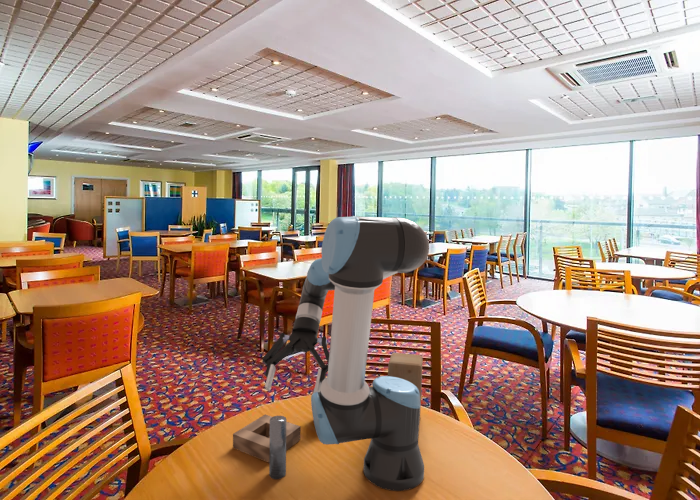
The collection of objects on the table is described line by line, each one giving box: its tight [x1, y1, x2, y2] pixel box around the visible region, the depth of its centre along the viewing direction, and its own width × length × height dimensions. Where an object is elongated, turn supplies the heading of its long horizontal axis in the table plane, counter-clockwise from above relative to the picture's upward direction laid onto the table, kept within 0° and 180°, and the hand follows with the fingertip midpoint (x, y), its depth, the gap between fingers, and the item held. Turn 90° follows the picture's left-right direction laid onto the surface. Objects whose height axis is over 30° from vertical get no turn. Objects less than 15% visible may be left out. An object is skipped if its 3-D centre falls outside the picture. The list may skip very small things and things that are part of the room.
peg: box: [268, 415, 287, 480], centre depth 103 cm, size 4×4×14 cm
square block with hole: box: [232, 414, 301, 463], centre depth 117 cm, size 13×13×4 cm
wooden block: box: [387, 352, 424, 424], centre depth 131 cm, size 10×10×20 cm
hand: (291, 391), depth 113 cm, fingers open, 13 cm apart
